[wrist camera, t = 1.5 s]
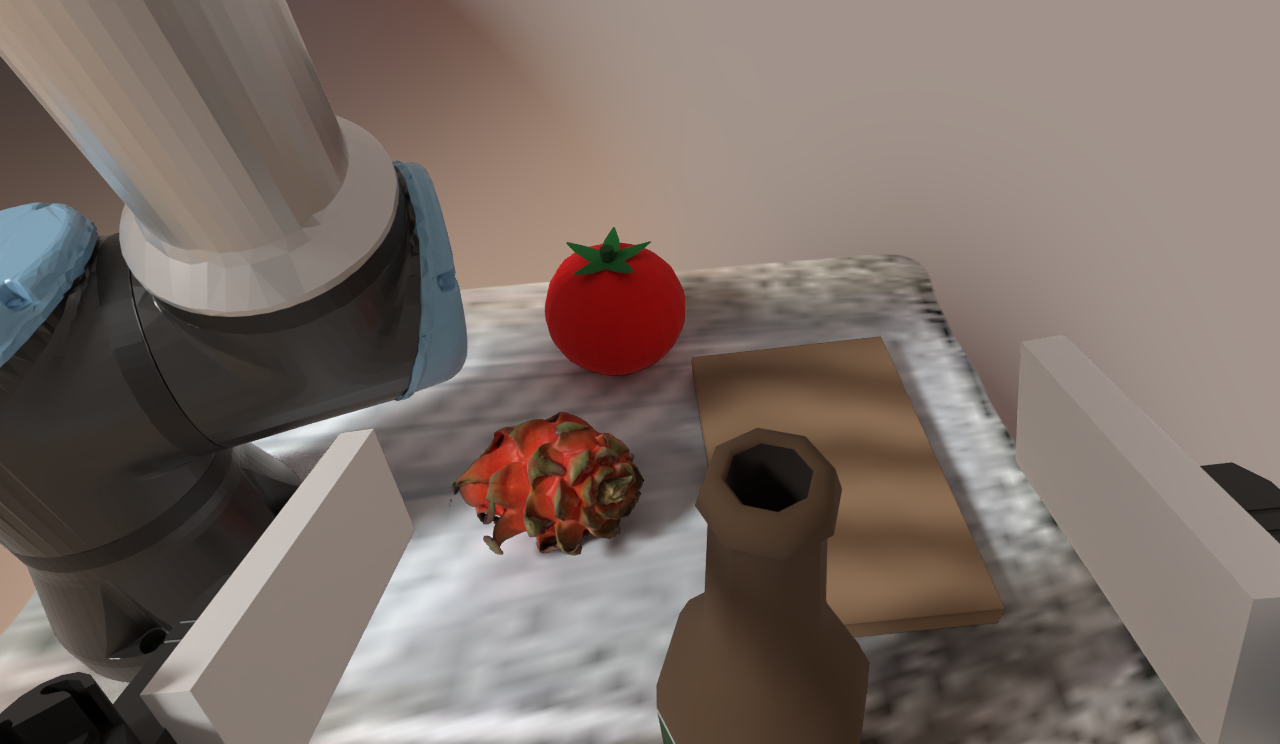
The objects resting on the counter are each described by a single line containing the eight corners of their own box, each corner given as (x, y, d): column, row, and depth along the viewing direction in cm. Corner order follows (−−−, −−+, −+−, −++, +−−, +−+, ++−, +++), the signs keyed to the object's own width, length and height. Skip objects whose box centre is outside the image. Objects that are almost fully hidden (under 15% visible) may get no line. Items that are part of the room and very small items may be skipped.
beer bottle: (821, 705, 38) (878, 351, 22) (865, 887, 32) (988, 594, 16) (668, 721, 38) (609, 382, 22) (684, 906, 32) (622, 633, 16)
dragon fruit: (665, 548, 47) (491, 554, 50) (659, 414, 49) (491, 428, 52) (627, 555, 39) (423, 562, 42) (621, 395, 41) (425, 413, 44)
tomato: (647, 420, 53) (633, 310, 47) (530, 378, 58) (501, 272, 51) (711, 333, 60) (707, 224, 53) (601, 301, 64) (584, 197, 57)
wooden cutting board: (998, 622, 40) (1004, 608, 39) (737, 649, 40) (737, 635, 39) (878, 351, 56) (880, 336, 55) (692, 372, 57) (691, 357, 56)
